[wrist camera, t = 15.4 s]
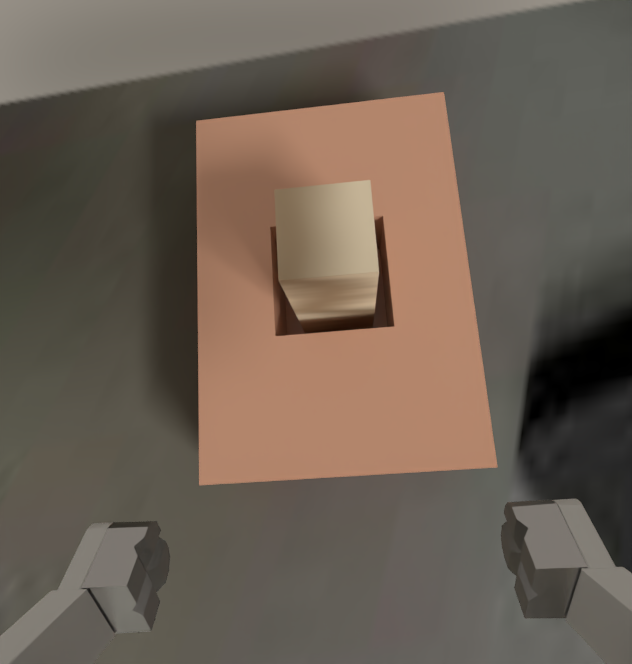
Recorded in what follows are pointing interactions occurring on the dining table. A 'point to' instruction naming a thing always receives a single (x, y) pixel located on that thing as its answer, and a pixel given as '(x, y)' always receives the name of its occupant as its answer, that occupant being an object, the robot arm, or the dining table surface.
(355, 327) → the peg
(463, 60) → the dining table surface
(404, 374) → the socket
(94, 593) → the robot arm
